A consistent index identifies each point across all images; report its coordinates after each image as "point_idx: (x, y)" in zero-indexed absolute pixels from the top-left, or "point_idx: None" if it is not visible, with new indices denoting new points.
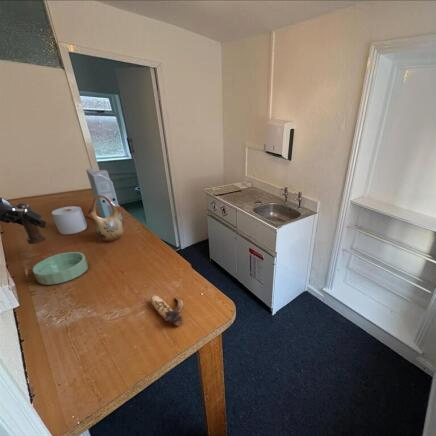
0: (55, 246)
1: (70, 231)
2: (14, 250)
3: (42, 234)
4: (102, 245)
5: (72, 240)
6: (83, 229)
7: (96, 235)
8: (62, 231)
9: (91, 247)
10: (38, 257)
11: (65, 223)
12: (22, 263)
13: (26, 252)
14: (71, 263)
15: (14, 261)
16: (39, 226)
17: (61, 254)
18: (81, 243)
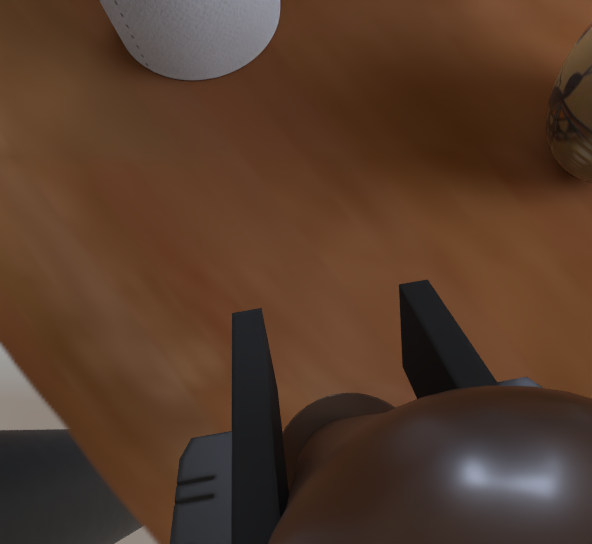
0: (248, 248)
1: (228, 58)
2: (3, 310)
3: (382, 406)
4: (585, 224)
5: (306, 160)
6: (278, 14)
7: (584, 165)
8: (174, 63)
9: (524, 255)
10: None
11: (203, 3)
12: None
13: (106, 336)
14: None
15: (114, 465)
16: None
17: None
18: (404, 200)
